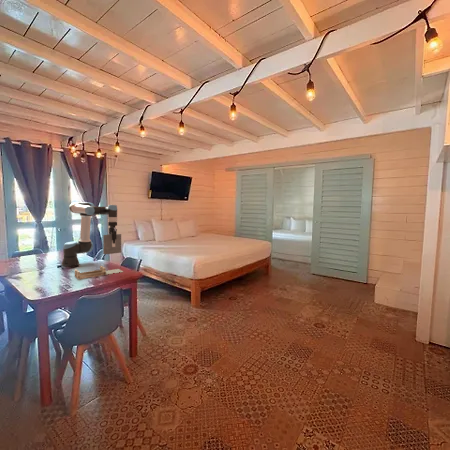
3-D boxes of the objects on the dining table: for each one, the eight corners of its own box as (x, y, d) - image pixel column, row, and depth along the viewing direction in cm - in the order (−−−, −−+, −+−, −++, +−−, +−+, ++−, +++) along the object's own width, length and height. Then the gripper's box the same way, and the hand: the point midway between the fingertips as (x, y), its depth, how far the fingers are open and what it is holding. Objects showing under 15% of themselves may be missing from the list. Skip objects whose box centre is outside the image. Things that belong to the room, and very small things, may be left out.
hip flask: (120, 251, 231) (120, 231, 229) (122, 252, 228) (122, 231, 227) (102, 253, 220) (102, 232, 218) (104, 254, 217) (104, 232, 215)
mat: (101, 271, 224) (101, 271, 224) (118, 269, 235) (118, 268, 235) (106, 274, 216) (106, 274, 216) (123, 272, 226) (123, 271, 226)
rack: (74, 276, 208) (74, 269, 207) (101, 272, 223) (101, 265, 223) (77, 279, 200) (77, 272, 200) (105, 274, 216) (105, 268, 216)
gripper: (105, 220, 225) (105, 245, 227) (111, 222, 213) (111, 248, 215) (113, 220, 230) (113, 244, 232) (120, 222, 218) (120, 247, 220)
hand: (112, 246), depth 223 cm, fingers closed on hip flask, 4 cm apart
